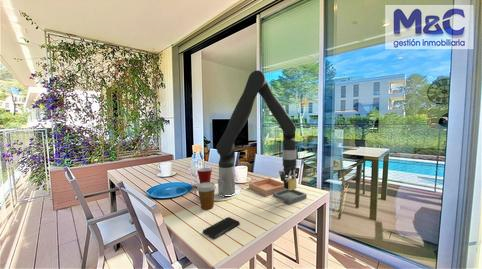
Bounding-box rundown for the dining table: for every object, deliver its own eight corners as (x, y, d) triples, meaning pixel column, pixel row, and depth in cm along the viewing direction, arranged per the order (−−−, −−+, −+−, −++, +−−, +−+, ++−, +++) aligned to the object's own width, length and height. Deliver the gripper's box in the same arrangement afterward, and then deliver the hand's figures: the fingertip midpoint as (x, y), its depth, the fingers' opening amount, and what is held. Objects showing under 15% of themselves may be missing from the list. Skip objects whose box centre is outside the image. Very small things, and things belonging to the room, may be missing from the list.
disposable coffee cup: (209, 201, 113) (208, 180, 112) (220, 206, 106) (219, 184, 105) (194, 207, 106) (193, 185, 105) (204, 213, 99) (203, 189, 98)
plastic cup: (214, 183, 143) (214, 166, 142) (211, 188, 132) (210, 170, 131) (199, 183, 144) (199, 166, 143) (194, 188, 134) (194, 170, 132)
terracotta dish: (266, 197, 116) (266, 190, 116) (249, 188, 131) (248, 182, 130) (287, 190, 125) (287, 184, 125) (269, 183, 140) (269, 177, 139)
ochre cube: (290, 190, 111) (289, 181, 111) (283, 187, 115) (283, 179, 115) (296, 188, 114) (296, 179, 114) (289, 186, 118) (289, 177, 118)
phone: (240, 222, 89) (213, 238, 78) (240, 224, 89) (213, 240, 78) (228, 216, 94) (201, 230, 83) (228, 219, 94) (201, 233, 83)
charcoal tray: (288, 204, 106) (288, 200, 106) (273, 197, 117) (273, 193, 116) (306, 198, 114) (306, 194, 114) (290, 191, 124) (290, 187, 124)
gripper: (293, 154, 120) (293, 183, 122) (275, 158, 112) (275, 188, 114) (303, 156, 114) (303, 186, 115) (285, 160, 106) (285, 192, 108)
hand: (289, 187), depth 115 cm, fingers closed on ochre cube, 5 cm apart
